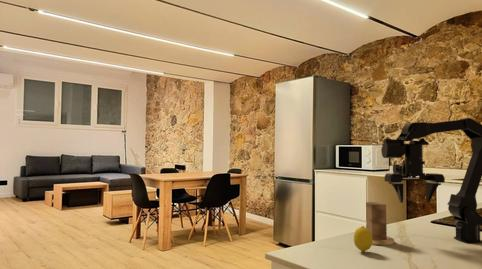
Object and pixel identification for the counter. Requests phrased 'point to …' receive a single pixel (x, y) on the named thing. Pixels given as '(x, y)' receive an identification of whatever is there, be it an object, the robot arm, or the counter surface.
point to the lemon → (363, 239)
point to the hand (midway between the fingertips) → (414, 202)
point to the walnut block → (376, 220)
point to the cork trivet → (383, 242)
